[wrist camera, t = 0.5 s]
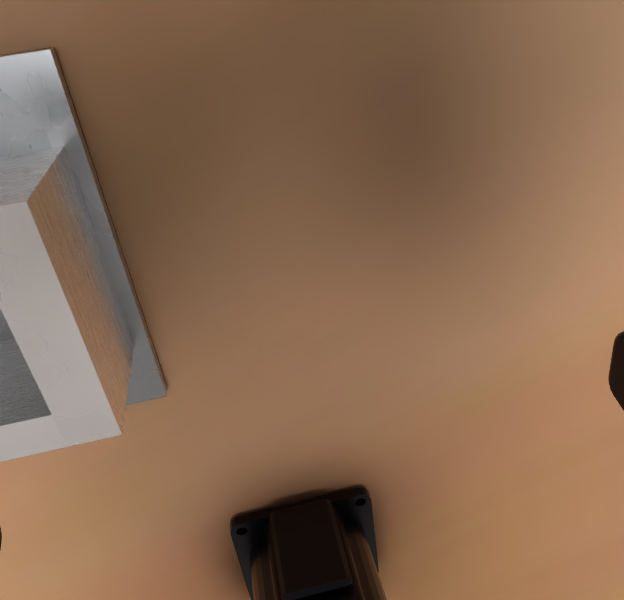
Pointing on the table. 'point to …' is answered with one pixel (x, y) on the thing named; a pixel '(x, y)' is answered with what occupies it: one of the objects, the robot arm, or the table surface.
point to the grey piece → (67, 133)
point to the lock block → (56, 314)
